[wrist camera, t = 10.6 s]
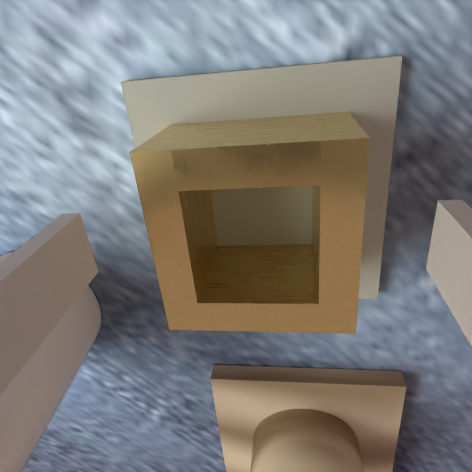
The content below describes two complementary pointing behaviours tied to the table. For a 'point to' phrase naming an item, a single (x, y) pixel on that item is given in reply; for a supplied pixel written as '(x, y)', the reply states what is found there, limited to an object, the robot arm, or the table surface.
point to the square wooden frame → (256, 256)
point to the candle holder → (45, 381)
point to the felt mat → (275, 105)
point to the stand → (307, 418)
